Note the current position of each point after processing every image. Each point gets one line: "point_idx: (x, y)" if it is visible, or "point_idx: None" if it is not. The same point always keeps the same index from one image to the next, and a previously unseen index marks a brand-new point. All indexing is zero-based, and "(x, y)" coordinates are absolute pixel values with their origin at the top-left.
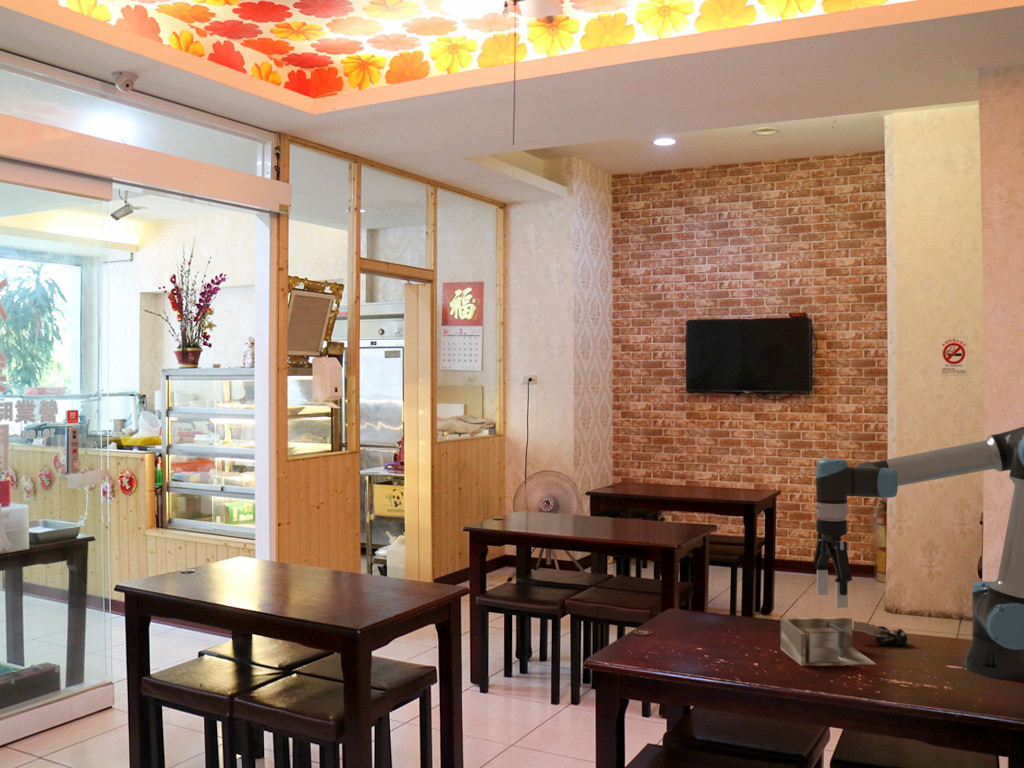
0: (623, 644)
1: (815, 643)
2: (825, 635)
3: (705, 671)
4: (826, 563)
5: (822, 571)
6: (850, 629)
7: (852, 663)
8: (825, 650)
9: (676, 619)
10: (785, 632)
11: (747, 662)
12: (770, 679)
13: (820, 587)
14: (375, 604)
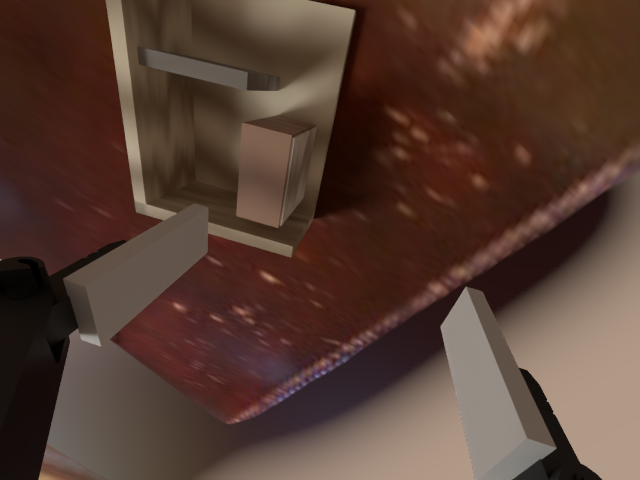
0: (162, 374)
1: (293, 199)
2: (290, 178)
3: (291, 357)
4: (33, 359)
5: (102, 315)
6: None
7: (335, 91)
8: (303, 167)
9: (16, 252)
10: None
11: (259, 284)
12: (355, 304)
13: (184, 260)
14: (51, 461)
